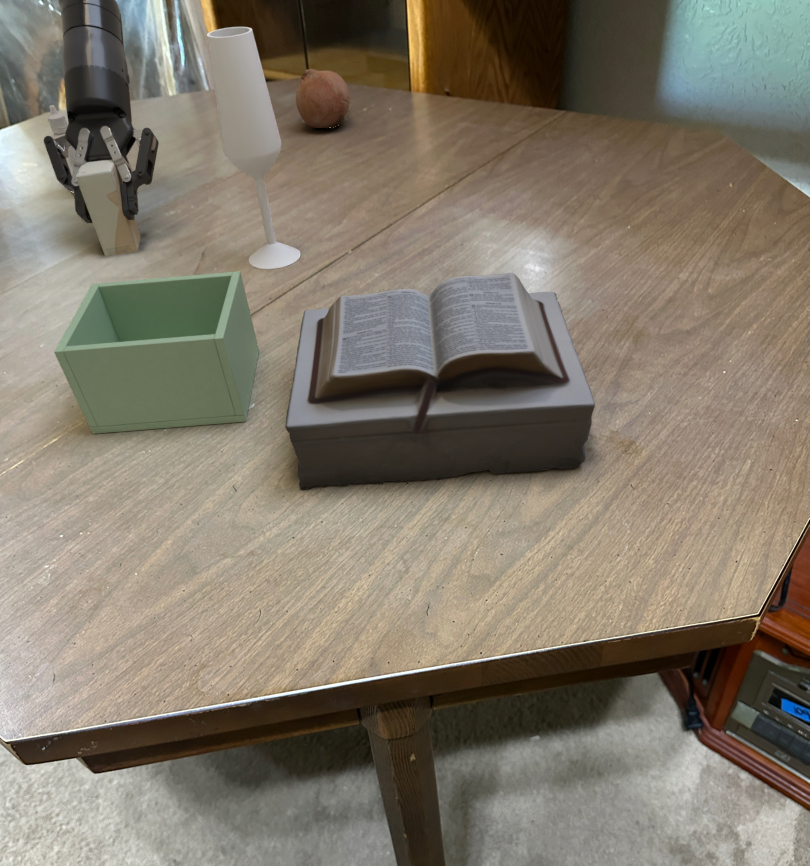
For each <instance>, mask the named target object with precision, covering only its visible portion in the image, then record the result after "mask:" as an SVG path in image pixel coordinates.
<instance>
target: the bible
mask: <svg viewBox="0 0 810 866" xmlns="http://www.w3.org/2000/svg"><path fill="white" fill-rule="evenodd" d="M566 322H567V321H566V319H565V316H564V315H563V310H562V307H561V304H560V301H558V297H557V293H556V292H554V291H539V292H528V291H527V289H526V287H525V286H524V284H523V283H522V281H521V279H520V278H519V276H518V275H516V273H514V272H503V273H495V274H481V275H460V276H454V277H450V278H448V279H445V280H442V281H441V282H440V283H439V284H437V286H435V288H434V289H433V290H432V291H431V293H429V294H426V293H423V292H422V291H419V290H417V289H412V288H398V289H391V290H386V291H379V292H373V293H372V292H371V293H364V294H352V295H351V294H350V295H341V296H339V297H338V298H337V299H336V300H335V301H334V302H333V303H332V304H331V306H330V307H328V308H319V309H318V308H317V309H316V308H315V309H306V310H304V311H303V316H302V319H301V324H300V330H299V338H298V343H297V344H298V345H297V349H296V358H295V365H294V371H293V377H292V384H291V389H290V394H289V399H288V405H287V409H286V410H287V411H286V415H285V427H284V428H285V430H286V431H287V432H288V435H289V439H290V443H291V445H292V448H293V450H294V453H295V455H296V457H297V458H296V459H298V460H297V477H298V481H299V482H298V486H299V489H300V490H309V489H312V488H314V487H316V486H321V487H326V486H327V487H328V486H349V485H350V484H357V485H362V484H373V483H376V484H384V482H394V483H399V482H401V483H402V482H408V481H418V480H419V481H427V480H428V481H429V480H432V479H436V480H442V479H445V478H455V477H458V476H461V475H466V474H469V473H472V472H474V473H475V472H479V473H480V472H484V471H487V470H489V471H490V472H491V473H492V474H494V475H501V474H505V473H506V474H509V473H510V474H514V473H515V474H517V473H530V472H540V471H546V470H551V469H553V468H555V469H559V470H568V469H573V468H580V465H582V464H583V463H585V461H586V458H587V453H586V452H587V451H586V445H585V443H586V442H587V441H588V439H589V435H590V432H591V429H592V428H591V427H592V424H593V420H592V417H593V414H594V410H595V408H596V402H595V399H594V396H593V393H592V390H591V387H590V385H589V383H588V380H587V376H586V372H585V369H584V366H583V364H582V363H581V361H580V358H579V356H578V355H579V354H578V352H577V350H576V347H575V345H574V340H573V338H572V336H571V333H570V331H569V328H568V325H567V323H566Z"/></svg>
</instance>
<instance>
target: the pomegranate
mask: <svg viewBox="0 0 810 866" xmlns="http://www.w3.org/2000/svg"><path fill="white" fill-rule="evenodd" d="M350 103H351V94H350V89H349V87H348V85H347V83H346V81H345V80H344V79H343V77H342V76H341V75H339V73H337V72H335V71H332V70H328V69H327V70H317V69H315V68H309V69H308V68H307V69H304V71H303V73H302V76H301V78H300V81H299V84H298V86H297V89H296V91H295V105H296V108H297V111H298V114H299V116H300V117H301V119H302V120H303V122H305V124H307V125H308V126H309V127H310V128H313V129H314V128H326V129H328V128H329V127H331V128H333V127H335V126H338V125H340V124H341V125H342V123H343V122H344V121H345V119H346V116H347V113H348V111H349V107H350ZM341 125H340V126H341Z"/></svg>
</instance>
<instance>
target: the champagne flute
mask: <svg viewBox="0 0 810 866" xmlns="http://www.w3.org/2000/svg"><path fill="white" fill-rule="evenodd" d="M206 39H207V46H208V53H209V59H210V67H211V73H212V74H211V75H212V82H213V89H214V95H215V96H214V97H215V102H216V108H217V109H216V111H217V116H218V123H219V130H220V131H219V132H220V138H221V144H222V151H223V153H224V156H225V157H226V158H227V160H228V161H229V162H230V163H231V164H232V165H233V166H234V167H235V168H236V169H238V170H239V171H240V172H242V173H243V174H245V175H246V176H248V177H250V178H253V180H254V181H253V182H254V186H255V191H256V196H257V201H258V205H259V211H260V215H261V219H262V225H263V230H264V235H265V240H266V243H265V244H263V245H262V246H260V247H259V248H258V249H257V250H256V251H254V252H253V253H252V254H251V255H250V256H249V258H248V263H249V265H250V266H252V267H254V268H257V269H260V270H274V269H281V268H285V267H287V266H291V265H292V264H294V263H296V262H297V261H298V260H299V259H300V257H301V251H300V250H299V249H297V248H296V247H294V246H291V245H288V244H285V243H282V242H279V241H277V239H276V238H277V237H276V232H275V228H274V223H273V217H272V212H271V208H270V207H271V206H270V202H269V197H268V192H267V188H266V187H267V186H266V183H265V182H266V181H265V177H266V176H267V174H269V173H270V171H271V170H272V168H273V167H274V165H275V164H276V163H277V161H278V158H279V155H280V154H281V150H282V139H281V135H280V131H279V127H278V124H277V119H276V115H275V112H274V107H273V104H272V101H271V97H270V92H269V89H268V85H267V81H266V77H265V73H264V70H263V66H262V62H261V58H260V54H259V50H258V46H257V43H256V39H255V35H254V31H253V28H252V27H248V26H231V27H224V28H218V29H215V30H212V31H210V32H208V33H207V34H206Z"/></svg>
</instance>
